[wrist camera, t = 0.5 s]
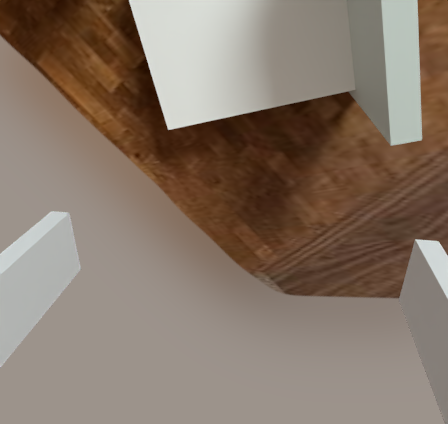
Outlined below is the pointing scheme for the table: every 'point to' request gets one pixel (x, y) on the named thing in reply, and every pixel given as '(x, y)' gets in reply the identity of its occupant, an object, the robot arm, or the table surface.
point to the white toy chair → (283, 57)
